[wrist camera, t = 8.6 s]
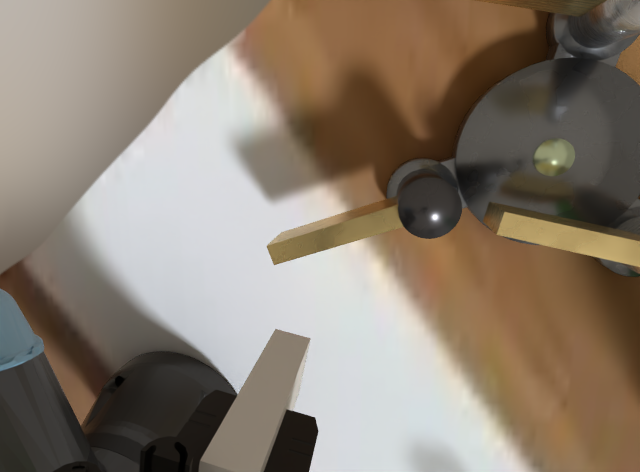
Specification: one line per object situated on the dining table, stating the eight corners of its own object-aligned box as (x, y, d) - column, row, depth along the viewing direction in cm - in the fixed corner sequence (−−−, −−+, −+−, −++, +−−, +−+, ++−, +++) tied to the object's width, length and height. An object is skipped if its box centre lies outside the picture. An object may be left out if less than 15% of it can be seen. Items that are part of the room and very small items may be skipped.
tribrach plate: (380, 215, 30) (379, 221, 27) (444, -45, 24) (450, -63, 22) (647, 276, 27) (670, 288, 25) (781, 3, 22) (824, -11, 20)
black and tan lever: (440, 162, 26) (452, 169, 21) (453, 210, 27) (469, 228, 22) (281, 214, 29) (257, 232, 24) (297, 256, 30) (277, 282, 25)
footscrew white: (680, 222, 25) (758, 246, 19) (655, 272, 26) (723, 308, 20) (488, 182, 26) (513, 194, 21) (472, 231, 27) (492, 254, 22)
